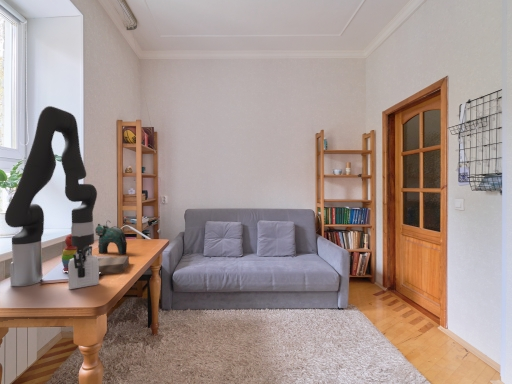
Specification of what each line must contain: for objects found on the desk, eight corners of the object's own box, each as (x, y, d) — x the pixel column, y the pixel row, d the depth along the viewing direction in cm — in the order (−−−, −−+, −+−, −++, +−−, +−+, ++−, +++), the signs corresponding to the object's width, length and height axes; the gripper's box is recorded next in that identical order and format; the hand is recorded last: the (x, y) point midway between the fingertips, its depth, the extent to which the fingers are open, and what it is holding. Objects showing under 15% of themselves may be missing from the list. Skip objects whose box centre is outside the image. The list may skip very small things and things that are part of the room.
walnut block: (89, 275, 114) (88, 266, 114) (98, 266, 127) (98, 258, 127) (123, 272, 118) (123, 263, 118) (128, 263, 132) (128, 255, 132)
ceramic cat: (94, 253, 151) (93, 220, 151) (104, 251, 158) (103, 219, 157) (121, 256, 146) (120, 221, 145) (129, 253, 152) (129, 220, 151)
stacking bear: (82, 272, 118) (81, 235, 117) (57, 275, 115) (56, 236, 115) (91, 265, 128) (90, 231, 128) (68, 267, 126) (67, 232, 125)
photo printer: (99, 281, 107) (98, 252, 107) (99, 284, 103) (98, 254, 103) (68, 287, 101) (68, 256, 101) (68, 290, 98) (67, 259, 97)
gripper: (78, 230, 107) (79, 270, 108) (64, 237, 94) (65, 282, 94) (98, 229, 110) (99, 268, 110) (87, 236, 96) (88, 280, 96)
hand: (84, 274), depth 102 cm, fingers closed on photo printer, 5 cm apart
